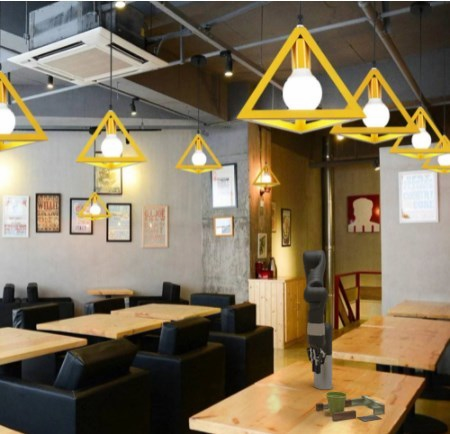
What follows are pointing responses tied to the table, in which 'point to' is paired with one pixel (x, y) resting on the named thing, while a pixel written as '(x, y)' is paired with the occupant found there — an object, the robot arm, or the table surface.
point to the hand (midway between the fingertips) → (316, 372)
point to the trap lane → (364, 400)
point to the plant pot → (336, 401)
